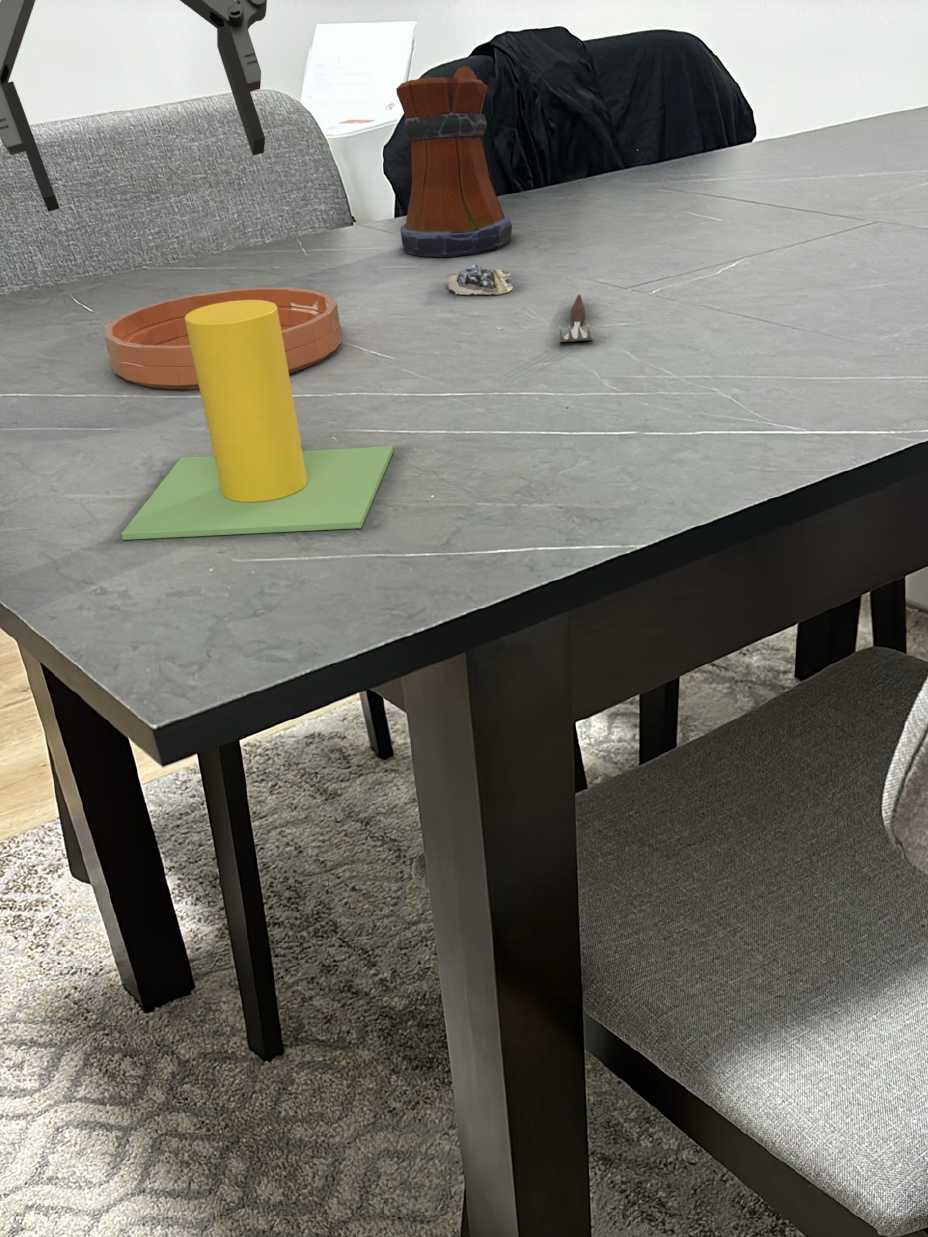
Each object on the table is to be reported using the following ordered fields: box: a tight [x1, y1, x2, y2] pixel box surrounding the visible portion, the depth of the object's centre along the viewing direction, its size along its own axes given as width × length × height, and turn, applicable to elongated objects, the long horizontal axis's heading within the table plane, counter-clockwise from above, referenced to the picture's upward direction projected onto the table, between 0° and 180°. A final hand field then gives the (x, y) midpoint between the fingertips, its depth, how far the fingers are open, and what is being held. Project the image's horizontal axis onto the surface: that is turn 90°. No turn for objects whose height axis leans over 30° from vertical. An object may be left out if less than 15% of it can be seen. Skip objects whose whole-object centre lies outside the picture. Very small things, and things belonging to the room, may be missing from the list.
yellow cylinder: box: [185, 300, 307, 502], centre depth 78 cm, size 5×5×10 cm
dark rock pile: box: [445, 263, 514, 296], centre depth 120 cm, size 7×8×2 cm
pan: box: [104, 287, 343, 390], centre depth 107 cm, size 18×18×3 cm
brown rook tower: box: [395, 66, 513, 258], centre depth 134 cm, size 18×12×15 cm, turn 171°
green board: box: [121, 445, 394, 541], centre depth 81 cm, size 14×13×1 cm
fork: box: [558, 294, 594, 343], centre depth 107 cm, size 3×16×2 cm, turn 177°
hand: (156, 175), depth 85 cm, fingers open, 13 cm apart
